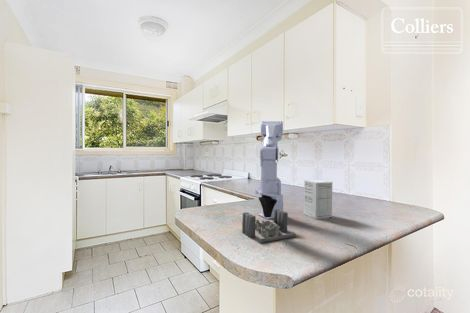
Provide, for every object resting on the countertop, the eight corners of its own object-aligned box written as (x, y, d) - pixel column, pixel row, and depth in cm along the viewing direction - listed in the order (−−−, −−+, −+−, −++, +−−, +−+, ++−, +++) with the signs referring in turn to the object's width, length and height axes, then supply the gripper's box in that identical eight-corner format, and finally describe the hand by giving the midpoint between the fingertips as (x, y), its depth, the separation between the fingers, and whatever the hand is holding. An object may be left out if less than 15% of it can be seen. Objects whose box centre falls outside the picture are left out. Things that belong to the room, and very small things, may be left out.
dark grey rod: (293, 236, 78) (293, 232, 78) (295, 237, 77) (295, 233, 77) (258, 242, 72) (258, 238, 72) (260, 243, 71) (260, 240, 71)
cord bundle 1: (246, 230, 82) (247, 212, 82) (256, 237, 76) (256, 217, 76) (241, 231, 81) (241, 212, 81) (250, 238, 75) (250, 217, 75)
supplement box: (319, 212, 111) (320, 179, 111) (332, 218, 103) (333, 181, 103) (302, 214, 108) (303, 179, 108) (315, 219, 100) (316, 182, 100)
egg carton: (252, 228, 86) (253, 217, 86) (271, 227, 88) (271, 217, 88) (261, 238, 76) (261, 226, 76) (281, 237, 77) (281, 225, 77)
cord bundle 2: (277, 226, 88) (277, 209, 88) (288, 232, 82) (289, 213, 82) (272, 227, 87) (272, 209, 87) (283, 232, 81) (283, 213, 81)
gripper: (249, 177, 85) (248, 212, 85) (271, 182, 72) (270, 223, 72) (264, 177, 88) (263, 211, 88) (288, 181, 75) (287, 221, 75)
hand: (267, 216), depth 80 cm, fingers closed
